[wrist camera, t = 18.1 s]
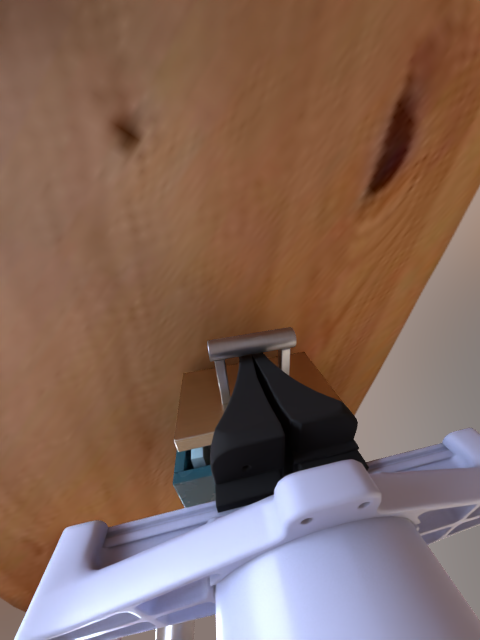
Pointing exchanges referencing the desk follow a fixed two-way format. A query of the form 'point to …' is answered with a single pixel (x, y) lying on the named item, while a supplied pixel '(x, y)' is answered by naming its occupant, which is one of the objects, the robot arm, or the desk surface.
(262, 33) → the desk surface
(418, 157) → the desk surface
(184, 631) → the plastic bottle
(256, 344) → the drawer
